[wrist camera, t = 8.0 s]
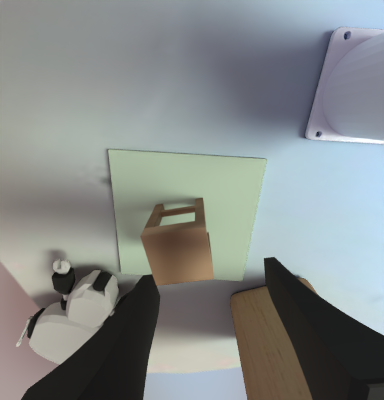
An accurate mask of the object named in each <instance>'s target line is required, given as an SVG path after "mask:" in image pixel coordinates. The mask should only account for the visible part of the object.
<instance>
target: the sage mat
mask: <svg viewBox="0 0 384 400" xmlns="http://www.w3.org/2000/svg"><path fill="white" fill-rule="evenodd" d="M108 153H109V162H110V172H111V181H112V191H113V201H114V210H115V220H116V229H117V239H118V248H119V258H120V267H121V274H133V275H149V274H152V272H151V268H150V265H149V262H148V259H147V256H146V253H145V250H144V247H143V243H142V240H141V237H140V236H141V234H142V232H143V230H144V228H145V226H146V224H147V222H148V219H149V217H150V215H151V213H152V211H153V209H154V207H155V205H157V204H163V205H164V209H165V210H167V209H174V208H181V207H187V206H194V205H195V199H196V198H203V201H204V209H205V220H206V230H207V233H208V232H209V237H210V245H211V254H212V263H213V272H214V279H215V280H231V281H242V280H243V275H244V271H245V266H246V261H247V256H248V251H249V246H250V241H251V236H252V231H253V226H254V221H255V216H256V211H257V207H258V202H259V197H260V192H261V187H262V182H263V177H264V172H265V167H266V162H267V159H264V158H247V157H231V156H215V155H199V154H182V153H166V152H150V151H133V150H117V149H109V150H108ZM191 221H195V212H194V213H187V214H180V215H174V216H167V217H162V220H161V223H160V226H163V225H170V224H177V223H184V222H191Z"/></svg>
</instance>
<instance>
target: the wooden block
mask: <svg viewBox="0 0 384 400" xmlns="http://www.w3.org/2000/svg"><path fill="white" fill-rule="evenodd" d="M298 279H299V280H300V281H301V282H302V283H303V284H305V285H306V286H307V287H308V288H310V289H311V290H312V291H313V292H315V293H316V291H315V290H314V288H313V287H312V285H311V284H310V283H309V282H308V281H307V280H306V279H304V278H298ZM316 294H317V293H316ZM317 295H318V294H317ZM230 307H231V312H232V317H233V323H234V328H235V334H236V339H237V345H238V350H239V356H240V361H241V367H242V372H243V377H244V383H245V388H246V394H247V400H313V399H312V396H311V393H310V391H309V388H308V385H307V382H306V380H305V377H304V374H303V371H302V369H301V366H300V363H299V361H298V358H297V355H296V353H295V350H294V347H293V345H292V343H291V341H290V338H289V336H288V334H287V332H286V330H285V328H284V326H283V323H282V321H281V319H280V317H279V315H278V313H277V311H276V309H275V306H274V304H273V302H272V300H271V297H270V294H269V291H268V288H267V286H264V287H260V288H256V289H252V290H247V291H243V292H239V293H235V294H234V295H232V296H231V301H230Z"/></svg>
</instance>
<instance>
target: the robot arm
mask: <svg viewBox="0 0 384 400" xmlns="http://www.w3.org/2000/svg"><path fill="white" fill-rule="evenodd" d="M344 34H347V39H346V40H345V39H344ZM318 131H319V135H318V136H317V137H316V133H317V132H318ZM305 136H306V138H307V139H310V140H324V141H341V142H357V143H373V144H384V30H383V29H367V28H351V27H340V28H338V29H337V30H335V31H334V32H333V33H332V35H331V38H330V42H329V46H328V50H327V54H326V57H325V61H324V65H323V69H322V72H321V76H320V80H319V84H318V88H317V91H316V95H315V99H314V103H313V106H312V110H311V114H310V118H309V122H308V125H307V129H306V133H305ZM264 267H265V280H266V286H267V288H268V291H269V294H270V297H271V300H272V302H273V304H274V306H275V309H276V311H277V313H278V315H279V317H280V319H281V321H282V323H283V326H284V328H285V330H286V332H287V334H288V336H289V338H290V341H291V343H292V345H293V347H294V350H295V353H296V355H297V358H298V361H299V363H300V366H301V369H302V371H303V374H304V377H305V380H306V382H307V385H308V388H309V391H310V393H311V396H312V399H313V400H384V335H382V334H380V333H378V332H376V331H374V330H372V329H371V328H369V327H367V326H365V325H364V324H362V323H360V322H358V321H357V320H355V319H353V318H352V317H350V316H348V315H347V314H345V313H343V312H342V311H340V310H339V309H337V308H336V307H334V306H333V305H331V304H330V303H328V302H327V301H326V300H324V299H323V298H321V297H320V296H319V295H317V294H316V293H315V292H313V291H312V290H311V289H310V288H308V287H307V286H306V285H305V284H303V283H302V282H301V281H300V280H299V279H298V278H296V277H295V276H294V275H293V274H292V273H291V272H290V271H289V270H287V269H286V268H285V267H284V266H283V265H282V264H281V263H280V262H279V261H278V260H277V259H276V258H275V257H271V258H264ZM159 305H160V295H159V292H158V289H157V286H156V283H155V281H154V278H153V275H152V274H149V275H143V276H142V278H141V279H140V280H139V282H138V283H137V284H136V286H135V287H134V288H133V290H132V291H131V292H130V294H129V295H128V296H127V297H126V299H125V300H124V301H123V303H122V304H121V305H120V306H119V307H118V309H117V310H116V311H115V312H114V313H113V315H112V316H111V317H110V318H109V319H108V320H107V321H106V323H105V324H104V325H103V326H102V327H101V328H100V329H99V330H98V331H97V332H96V333H95V334H94V335H93V336H92V337H91V338H90V339H89V340H88V341H87V342H85V343H84V344H83V345H82V346H81V347H80V348H79V349H78V350H77V351H76V352H75V353H73V354H72V355H71V356H70V357H69V358H68V359H66V360H65V361H64V362H63V363H61V364H60V365H59V366H58V367H57V368H55V369H54V370H53V371H52V372H50V373H49V374H47V375H46V376H45V377H44V378H42V379H41V380H39V381H38V382H37V383H35V384H34V385H33V386H31V387H30V388H29V389H28V390H27V391H26V393H25V394H24V396H23V397H22V399H21V400H143V396H144V387H145V379H146V372H147V365H148V359H149V354H150V349H151V345H152V340H153V336H154V331H155V327H156V323H157V318H158V313H159Z"/></svg>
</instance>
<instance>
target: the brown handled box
mask: <svg viewBox="0 0 384 400" xmlns="http://www.w3.org/2000/svg"><path fill="white" fill-rule="evenodd" d="M194 212H195V221H191V222H184V223H177V224H170V225H163V226H160V223H161V220H162V217H167V216H174V215H180V214H187V213H194ZM140 237H141V240H142V243H143V247H144V250H145V253H146V256H147V259H148V262H149V265H150V268H151V272H152V275H153V278H154V281H155V283H156V286H158V285H167V284H175V283H184V282H192V281H201V280H210V279H214V272H213V263H212V254H211V245H210V237H209V232H208V233H207V230H206V220H205V209H204V201H203V198H196V199H195V205H194V206H187V207H181V208H174V209H167V210H165V209H164V205H163V204H157V205H155V207H154V209H153V211H152V213H151V215H150V217H149V219H148V222H147V224H146V226H145V228H144V230H143V232H142V234H141V236H140Z"/></svg>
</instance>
